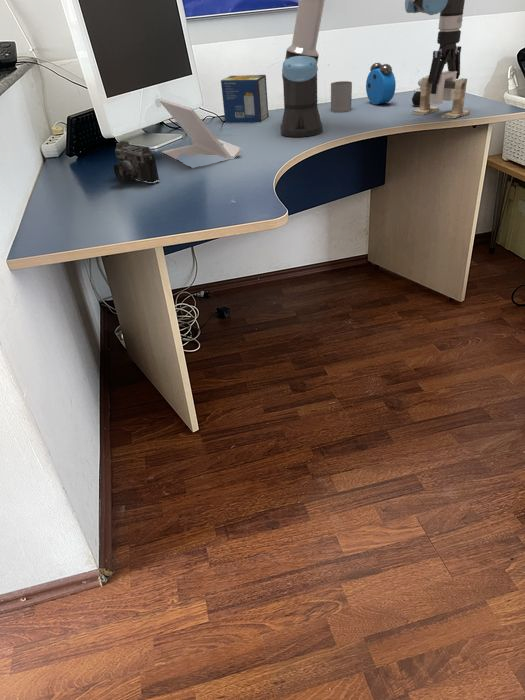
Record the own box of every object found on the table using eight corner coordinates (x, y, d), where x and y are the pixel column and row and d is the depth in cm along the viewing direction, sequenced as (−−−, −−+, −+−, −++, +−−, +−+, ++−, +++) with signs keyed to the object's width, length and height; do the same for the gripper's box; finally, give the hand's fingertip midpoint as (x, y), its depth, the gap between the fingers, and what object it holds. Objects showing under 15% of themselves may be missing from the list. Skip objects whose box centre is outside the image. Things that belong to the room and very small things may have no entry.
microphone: (432, 105, 224) (410, 109, 210) (430, 91, 222) (408, 93, 209) (444, 102, 220) (423, 105, 207) (442, 87, 218) (421, 89, 205)
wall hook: (431, 73, 215) (411, 72, 222) (429, 98, 221) (409, 96, 227) (444, 70, 219) (423, 69, 226) (441, 95, 225) (421, 93, 231)
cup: (328, 112, 213) (328, 85, 207) (332, 108, 219) (332, 81, 214) (349, 112, 210) (350, 84, 205) (352, 107, 217) (353, 81, 211)
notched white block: (438, 104, 191) (442, 75, 185) (429, 103, 193) (432, 74, 188) (453, 99, 195) (456, 71, 190) (443, 98, 198) (447, 70, 192)
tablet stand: (192, 169, 161) (183, 109, 151) (161, 154, 179) (152, 99, 169) (243, 157, 168) (238, 99, 158) (209, 143, 186) (202, 90, 176)
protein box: (234, 116, 220) (230, 75, 211) (269, 116, 215) (266, 74, 206) (224, 122, 212) (219, 79, 203) (260, 122, 207) (256, 79, 198)
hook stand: (453, 119, 188) (458, 82, 182) (412, 113, 200) (414, 78, 193) (469, 113, 193) (474, 77, 186) (427, 108, 205) (431, 74, 198)
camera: (103, 181, 157) (95, 146, 152) (129, 172, 163) (122, 138, 157) (137, 191, 147) (129, 154, 141) (163, 182, 152) (157, 146, 146)
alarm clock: (394, 105, 215) (397, 63, 207) (382, 107, 214) (384, 65, 205) (376, 100, 225) (378, 61, 217) (364, 102, 224) (365, 62, 215)
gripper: (440, 33, 173) (432, 107, 186) (476, 26, 184) (467, 96, 197) (421, 33, 178) (415, 105, 191) (457, 26, 189) (449, 95, 202)
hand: (441, 101), depth 194 cm, fingers closed on notched white block, 9 cm apart
